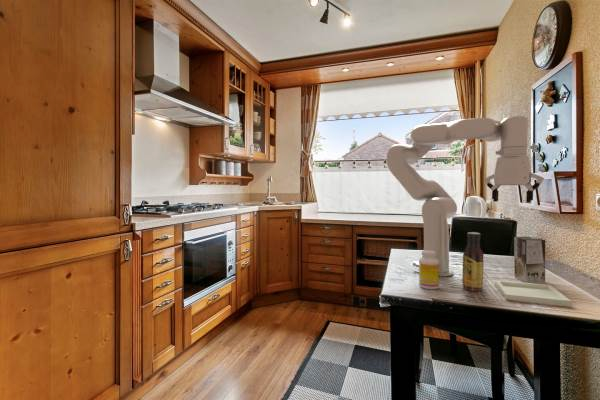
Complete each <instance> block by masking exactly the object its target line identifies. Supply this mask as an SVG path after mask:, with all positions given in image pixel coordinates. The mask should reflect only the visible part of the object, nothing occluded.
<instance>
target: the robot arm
mask: <svg viewBox="0 0 600 400" xmlns="http://www.w3.org/2000/svg"><path fill="white" fill-rule="evenodd" d="M528 124H529V119H528V117H526V116H524V115H515V116H514V115H513V116H507V117H505V118H504V119H502V120H500V121H499V120H495V119H492V118H490V117H474V118H464V119H463V118H462V119H458V120H453V121H449V122H439V123H431V124H430V123H429V124H420V125H417V126H415V127H414V128H413V129H412V130H411V131H410V132H411V133H410V139H411V141H412V143H411V144H402V143H397V144H393V145H392V146H391V147H390V148H389V149H388V151H387V154H386V164H387V167H388V168H387V169H388V170H389V171H390V173H391V174H392V175H393V176H394V178H395V179H396V180H397V181H398V182H399V184H400V185H401V186H402V187H403V188H404V189H405V191H406V193H408V194H409V195H410V197H411V198H412V199H413V200H415V201H419V202H422V201H424V202H423V204H422V206H421V216H422V222H423V245H424V246H423V251H424V250H430V251H435V252H436V256H435V258H436V259H438V261H439V277H451V276H453V275H454V270H453V269H451V268H450V231H449V224H448V223H449V222H448V219H451V218H452V217H454V216H455V215H456V213H457V211H458V206H457V203H456V200H455V199H453V197H452V196H450V194H449V193H448V192H447V191H446V190H445V189H444V188H443V187H442V186H441V185H440V184H439V183H438V182H437V181H435V180H433V179H429V178H428V179H427V178H424V177H422V175H420V174H419V173H418V172H417V170H416V169H415V168H413V167H412V166H411V164H415V163H417V162H419V161H420V160H421V159H422V158H423V157H424V156H425V155H427V154H428V153H429V152H430V151H431V150H432V149H434V147H435V146H436V145H450V144H452V143H453V142H456V141H457V142H458V141H462V140H466V141H468V140H482V141H485V142H496V141H500V148H499V150H496V151H495V155H497V156H499V157H497V159H496V162H495V169H494V173H493V174H491V175H490V176H486V177H485V178H483V179H484V183H485V184H486V186H487V187H488V188H489V189H490V190H491V200H493V203H494V202H499V190H498V189H499V188H500V187H501V186H524V187H525V188H526V189H527V190H526V197H525V198H526V199H525V200H526V201H525V202H526V203H528V204H529V203H531V202H532V201H534V191H535V190H536V189H538V188H539V187H540V186H541V184H542V183H543V182H544V181H545V177H543V176H540V175H538V174H536V173H533V172H532V167H531V159H530V156H529V155H527V154H528V134H529V133H528V130H529V128H528V126H529V125H528ZM532 179H535V180H536V182H535V183H534V184H533V185H532V184H531V182H532ZM491 180H493V183H492V182H491ZM412 266H414V267H415V268H419V261H415V260H414V261H412Z"/></svg>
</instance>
